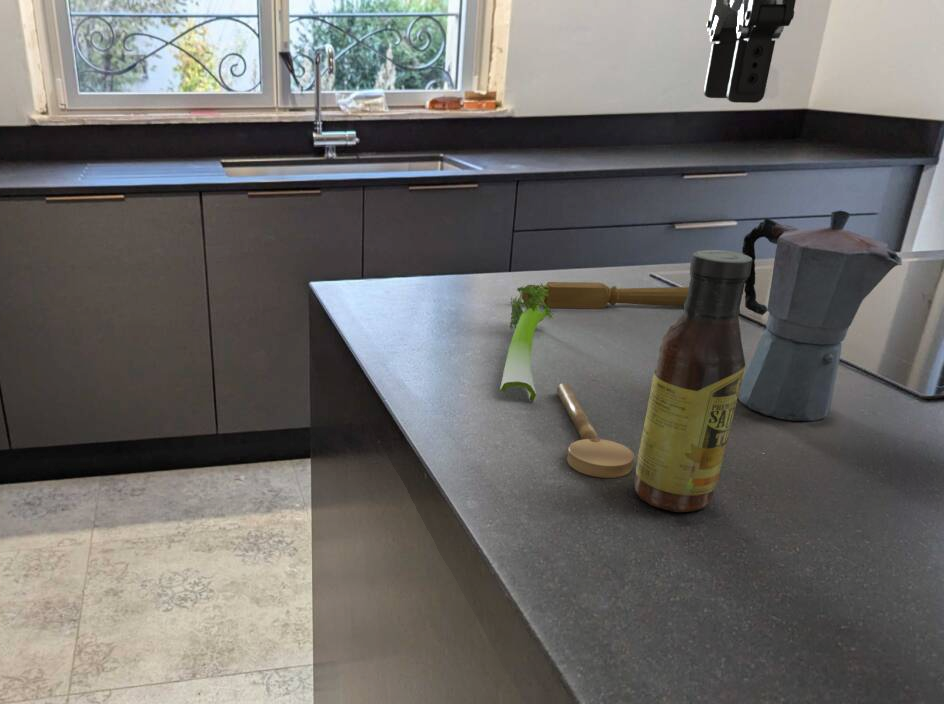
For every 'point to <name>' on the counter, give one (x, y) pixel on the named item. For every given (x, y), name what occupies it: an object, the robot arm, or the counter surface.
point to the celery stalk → (524, 339)
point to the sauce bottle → (695, 388)
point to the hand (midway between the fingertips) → (730, 99)
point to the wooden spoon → (593, 444)
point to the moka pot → (807, 313)
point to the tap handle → (607, 295)
